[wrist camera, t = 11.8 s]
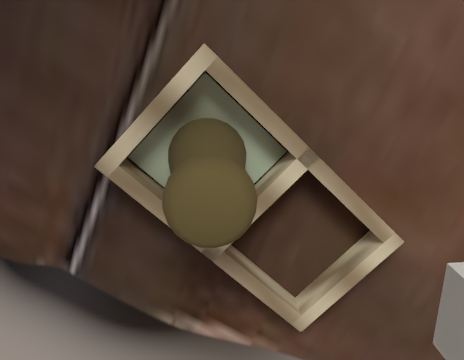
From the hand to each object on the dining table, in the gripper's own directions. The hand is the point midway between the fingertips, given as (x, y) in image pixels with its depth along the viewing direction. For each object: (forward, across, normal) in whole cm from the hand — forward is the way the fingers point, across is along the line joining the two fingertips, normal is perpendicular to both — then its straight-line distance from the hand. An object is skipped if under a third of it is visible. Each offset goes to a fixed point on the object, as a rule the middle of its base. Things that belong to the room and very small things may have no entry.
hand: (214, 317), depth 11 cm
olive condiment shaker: (+21, 0, -1) cm, 21 cm away
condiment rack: (+21, +4, -5) cm, 22 cm away
